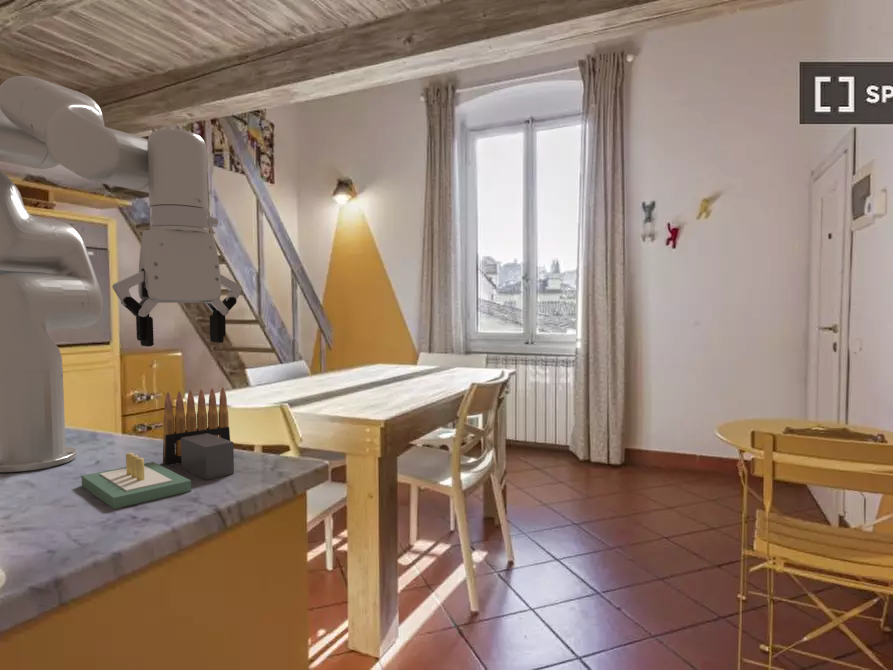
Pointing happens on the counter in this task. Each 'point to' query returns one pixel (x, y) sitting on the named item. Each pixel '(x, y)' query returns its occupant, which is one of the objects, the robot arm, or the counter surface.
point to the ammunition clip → (192, 422)
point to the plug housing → (207, 455)
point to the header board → (135, 483)
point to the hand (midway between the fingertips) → (183, 343)
